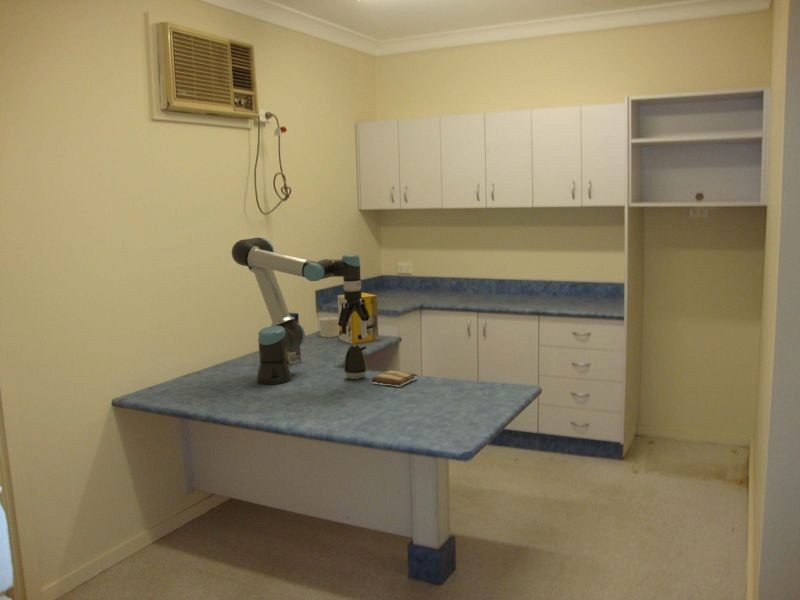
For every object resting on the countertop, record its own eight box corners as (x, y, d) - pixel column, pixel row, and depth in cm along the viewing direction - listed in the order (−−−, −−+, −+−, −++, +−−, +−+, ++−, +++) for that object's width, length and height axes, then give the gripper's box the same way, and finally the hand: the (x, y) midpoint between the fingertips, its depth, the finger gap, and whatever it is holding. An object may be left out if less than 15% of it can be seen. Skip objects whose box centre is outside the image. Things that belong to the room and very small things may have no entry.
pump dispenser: (364, 381, 317) (363, 347, 315) (341, 380, 319) (340, 346, 317) (370, 375, 327) (368, 342, 325) (347, 374, 329) (346, 342, 327)
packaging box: (378, 340, 404) (377, 295, 400) (352, 344, 396) (350, 298, 392) (365, 335, 418) (363, 292, 414) (339, 339, 410) (337, 295, 406)
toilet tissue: (333, 333, 429) (333, 316, 427) (343, 336, 419) (342, 318, 417) (317, 335, 423) (316, 318, 422) (326, 338, 413) (325, 321, 412)
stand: (399, 387, 305) (399, 380, 305) (372, 383, 313) (371, 377, 312) (416, 379, 317) (416, 373, 317) (389, 376, 324) (389, 369, 324)
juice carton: (300, 361, 358) (298, 313, 354) (288, 364, 353) (285, 315, 349) (286, 358, 367) (284, 311, 363) (274, 360, 362) (271, 313, 358)
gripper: (342, 294, 305) (345, 344, 308) (375, 286, 326) (377, 333, 329) (328, 293, 309) (330, 342, 312) (362, 286, 330) (364, 332, 333)
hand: (354, 338), depth 320 cm, fingers open, 13 cm apart
